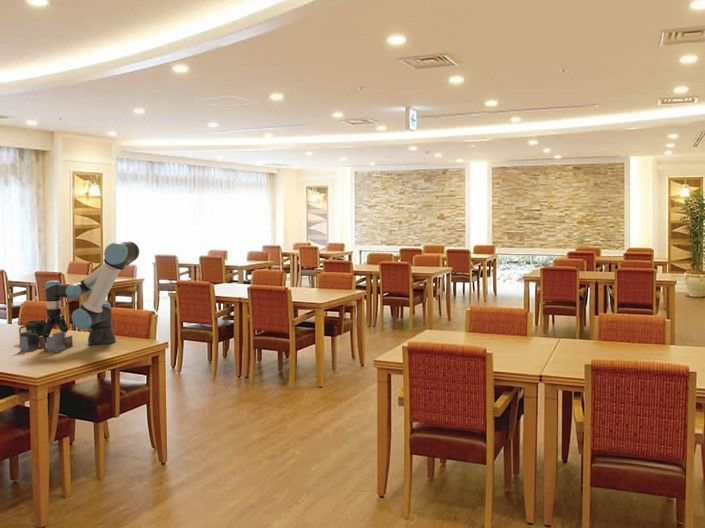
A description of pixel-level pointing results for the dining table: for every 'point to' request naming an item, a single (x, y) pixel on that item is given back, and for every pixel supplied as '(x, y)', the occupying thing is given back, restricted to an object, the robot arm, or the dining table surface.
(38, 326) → the mug
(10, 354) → the dining table surface
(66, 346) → the rail
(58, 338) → the bracket
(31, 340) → the bracket
